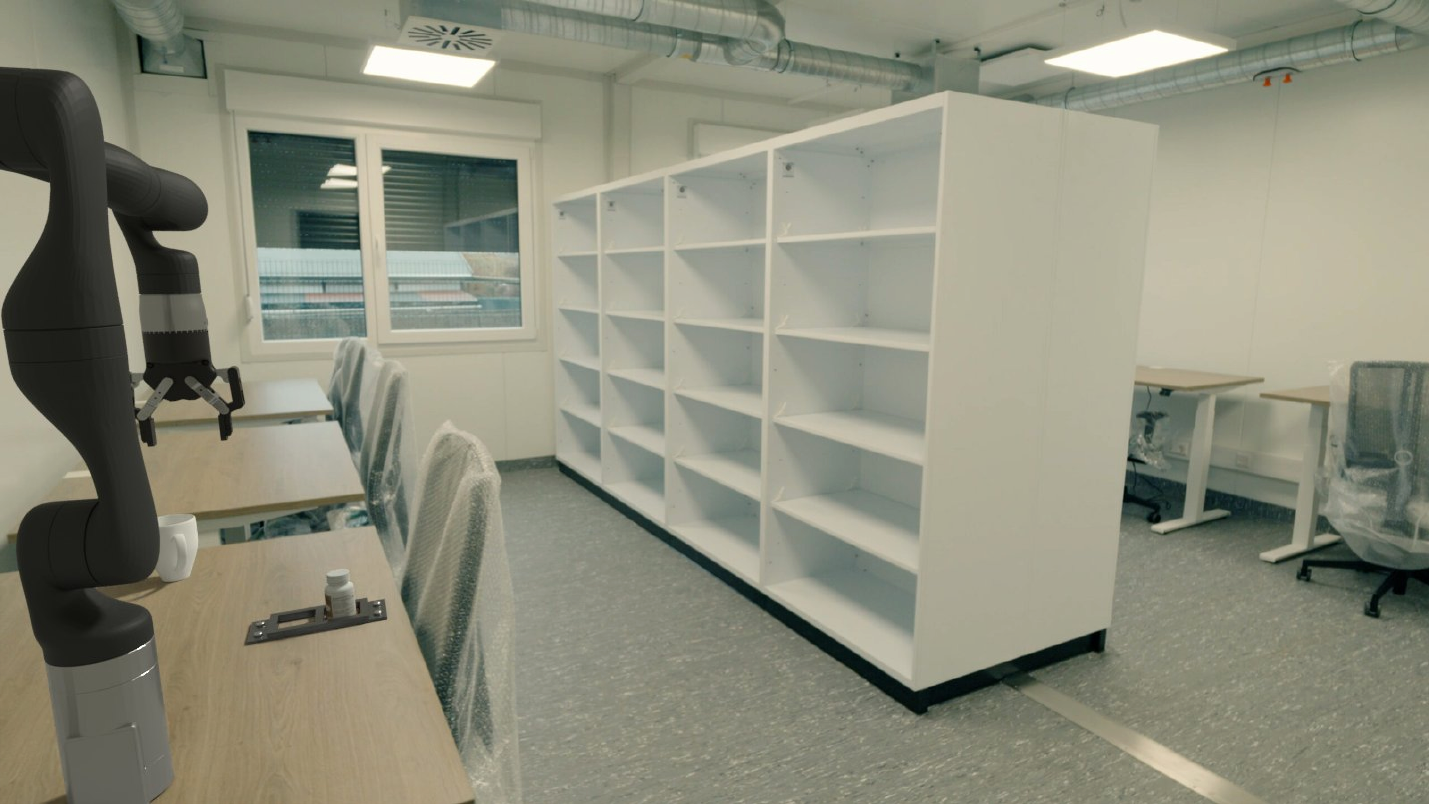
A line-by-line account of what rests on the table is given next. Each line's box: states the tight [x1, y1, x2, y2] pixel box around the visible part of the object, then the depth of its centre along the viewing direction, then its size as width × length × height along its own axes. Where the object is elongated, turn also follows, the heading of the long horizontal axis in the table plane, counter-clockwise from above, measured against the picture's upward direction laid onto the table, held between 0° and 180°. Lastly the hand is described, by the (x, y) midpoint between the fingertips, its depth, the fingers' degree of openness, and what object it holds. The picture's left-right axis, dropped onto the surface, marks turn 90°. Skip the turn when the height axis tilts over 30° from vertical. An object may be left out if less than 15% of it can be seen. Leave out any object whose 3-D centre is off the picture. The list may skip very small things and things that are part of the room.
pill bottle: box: [324, 568, 356, 620], centre depth 127 cm, size 4×4×8 cm
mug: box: [154, 513, 199, 583], centre depth 143 cm, size 12×8×11 cm
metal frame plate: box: [246, 597, 388, 646], centre depth 126 cm, size 8×20×1 cm, turn 116°
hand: (189, 442), depth 108 cm, fingers open, 8 cm apart
